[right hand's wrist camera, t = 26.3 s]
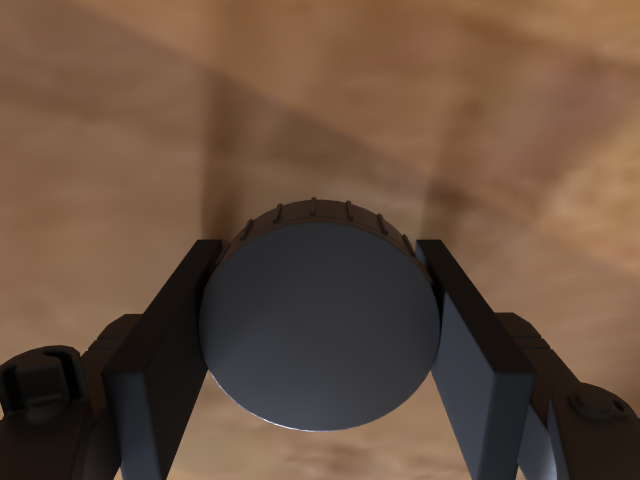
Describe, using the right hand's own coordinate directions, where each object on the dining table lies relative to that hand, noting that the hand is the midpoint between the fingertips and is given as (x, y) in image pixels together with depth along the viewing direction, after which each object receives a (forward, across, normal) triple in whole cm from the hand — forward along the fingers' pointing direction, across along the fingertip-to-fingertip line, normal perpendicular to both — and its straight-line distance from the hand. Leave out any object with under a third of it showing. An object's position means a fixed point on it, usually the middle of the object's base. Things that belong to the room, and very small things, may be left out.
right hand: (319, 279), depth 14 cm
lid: (-3, 0, 0) cm, 3 cm away
